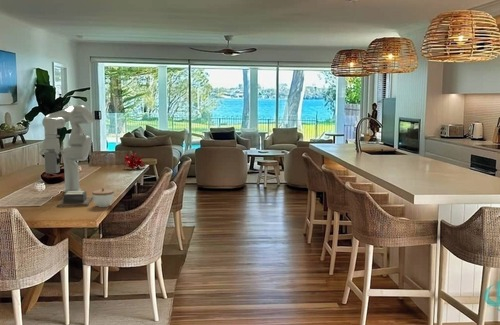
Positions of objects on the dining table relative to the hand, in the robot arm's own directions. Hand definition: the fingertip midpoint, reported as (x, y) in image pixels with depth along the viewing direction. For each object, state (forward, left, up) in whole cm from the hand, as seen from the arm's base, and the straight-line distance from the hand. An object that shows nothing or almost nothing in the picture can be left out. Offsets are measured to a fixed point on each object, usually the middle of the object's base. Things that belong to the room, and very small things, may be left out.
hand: (52, 164), depth 314 cm
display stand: (+15, +16, -23) cm, 32 cm away
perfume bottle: (0, 0, -6) cm, 6 cm away
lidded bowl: (+26, +34, -24) cm, 49 cm away
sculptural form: (-132, +43, -24) cm, 141 cm away
